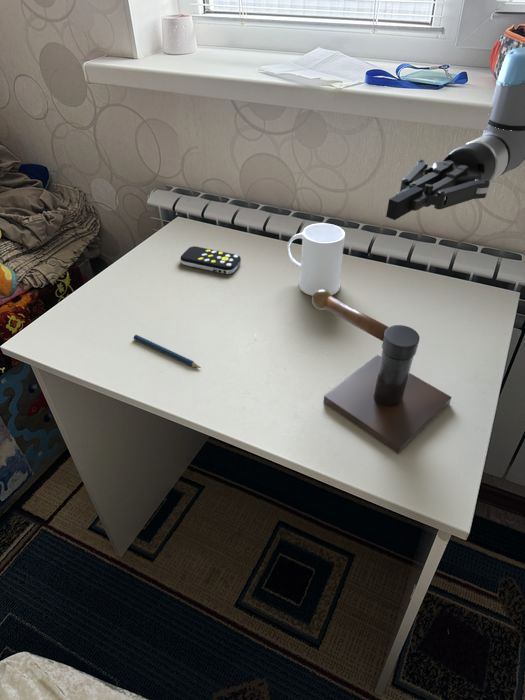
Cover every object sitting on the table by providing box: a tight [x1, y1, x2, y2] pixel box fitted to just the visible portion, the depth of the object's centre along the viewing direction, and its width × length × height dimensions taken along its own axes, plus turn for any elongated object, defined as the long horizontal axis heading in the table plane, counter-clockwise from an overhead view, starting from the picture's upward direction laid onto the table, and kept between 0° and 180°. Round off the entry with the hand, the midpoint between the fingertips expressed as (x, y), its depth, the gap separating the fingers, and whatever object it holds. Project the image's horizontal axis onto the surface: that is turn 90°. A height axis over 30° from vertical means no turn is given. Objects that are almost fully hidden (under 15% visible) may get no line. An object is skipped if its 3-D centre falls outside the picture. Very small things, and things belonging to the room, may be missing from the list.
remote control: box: [180, 245, 242, 275], centre depth 111 cm, size 6×13×2 cm, turn 69°
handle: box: [311, 289, 421, 360], centre depth 75 cm, size 18×5×3 cm, turn 44°
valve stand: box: [323, 349, 452, 455], centre depth 76 cm, size 14×14×11 cm
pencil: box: [133, 334, 202, 369], centre depth 88 cm, size 1×1×15 cm
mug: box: [286, 222, 346, 297], centre depth 101 cm, size 12×8×12 cm
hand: (391, 209), depth 72 cm, fingers closed
